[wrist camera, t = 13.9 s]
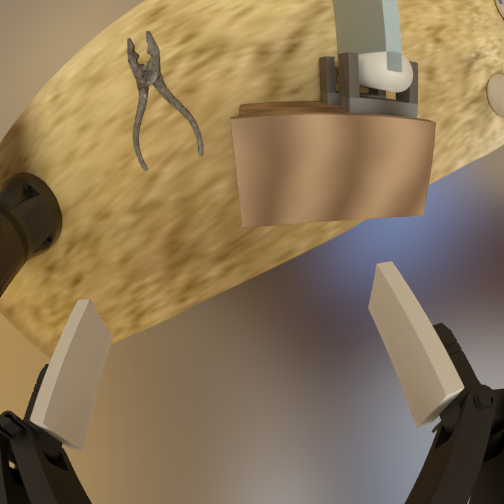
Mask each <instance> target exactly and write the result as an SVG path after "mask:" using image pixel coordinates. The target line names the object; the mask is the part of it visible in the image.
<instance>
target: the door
mask: <svg viewBox="0 0 504 504" xmlns="http://www.w3.org/2000/svg"><path fill="white" fill-rule="evenodd" d="M333 4H334V13H335V23H336V35H337V49H338V54H341V53H347V52H350V53H358V60H359V86H362V87H369V88H375V89H381V90H386V91H391V92H402V91H405V90H406V89H407V88H408V87H409V86H410V85H411V83H412V80H413V70H412V67H411V64H410V62H409V61H408V59H407V58H406V57H405V56H404V55H402V50H401V35H400V23H399V13H398V5H397V0H333ZM334 62H335V80H336V81H337V82H339V65H338V57H337V58H335V59H334Z"/></svg>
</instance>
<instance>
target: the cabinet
mask: <svg viewBox="0 0 504 504" xmlns="http://www.w3.org/2000/svg"><path fill="white" fill-rule="evenodd" d="M319 61H320V79H321V101H298V102H271V103H256V104H243V105H240V111H239V116H238V117H231V128H232V138H233V147H234V156H235V166H236V175H237V184H238V193H239V202H240V211H241V220H242V228H246V227H258V226H270V225H282V224H295V223H308V222H322V221H337V220H352V219H369V218H385V217H405V216H423V213H424V208H425V203H426V197H427V192H428V186H429V179H430V173H431V166H432V158H433V149H434V140H435V128H436V123H435V122H433V121H430V120H425V119H418V118H417V104H418V63H416V62H411V61H409V62H410V64H411V67H412V70H413V80H412V83H411V85H410V86H409V87H408V88H407V89H406V90H405V91H402V92H396V100H395V99H386V90H381V89H375V88H369V94H368V93H360V90H359V60H358V53H350V52H347V53H341V54H338V65H339V89H340V92H336V84H335V62H334V57H321V58H319ZM409 117H411V118H409Z"/></svg>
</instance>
